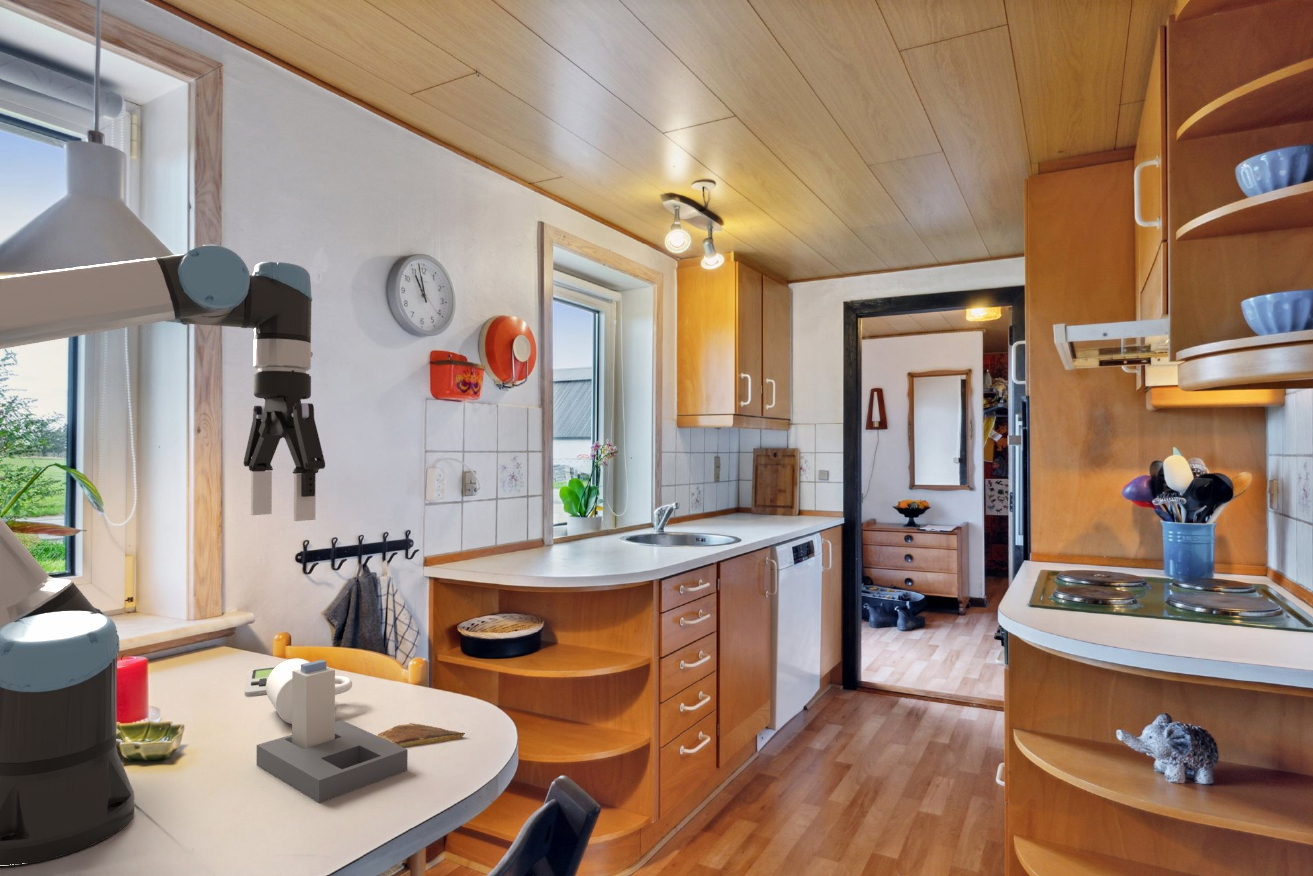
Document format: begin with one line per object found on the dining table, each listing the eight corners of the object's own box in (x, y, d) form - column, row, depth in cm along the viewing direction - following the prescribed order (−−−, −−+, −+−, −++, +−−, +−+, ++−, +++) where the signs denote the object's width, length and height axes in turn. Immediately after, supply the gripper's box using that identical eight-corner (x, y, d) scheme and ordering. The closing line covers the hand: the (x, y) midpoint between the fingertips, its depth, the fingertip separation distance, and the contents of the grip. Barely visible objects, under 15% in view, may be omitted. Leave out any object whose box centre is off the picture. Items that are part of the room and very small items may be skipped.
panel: (319, 805, 92) (319, 780, 92) (256, 767, 103) (256, 745, 103) (407, 772, 101) (407, 749, 101) (341, 740, 112) (341, 720, 112)
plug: (306, 766, 102) (306, 669, 102) (291, 758, 105) (292, 663, 105) (334, 756, 105) (335, 662, 106) (320, 749, 108) (320, 657, 108)
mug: (276, 730, 116) (276, 678, 116) (265, 711, 124) (265, 662, 124) (358, 714, 123) (358, 664, 123) (343, 697, 131) (343, 651, 131)
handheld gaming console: (244, 690, 131) (248, 667, 145) (244, 700, 131) (248, 676, 145) (308, 682, 136) (306, 661, 149) (308, 691, 136) (306, 669, 149)
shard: (465, 743, 112) (465, 730, 113) (430, 762, 106) (430, 749, 106) (407, 731, 117) (407, 719, 117) (370, 749, 110) (370, 737, 110)
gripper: (351, 368, 107) (351, 520, 106) (270, 377, 122) (269, 510, 122) (297, 363, 101) (297, 525, 101) (219, 374, 117) (219, 514, 116)
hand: (282, 517), depth 111 cm, fingers open, 13 cm apart
